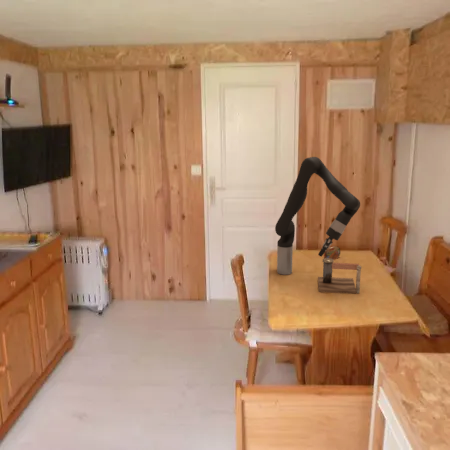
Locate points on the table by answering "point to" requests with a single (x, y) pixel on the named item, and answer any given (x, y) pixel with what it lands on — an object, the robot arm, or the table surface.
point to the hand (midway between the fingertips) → (320, 255)
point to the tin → (332, 252)
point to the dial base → (341, 284)
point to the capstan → (329, 265)
